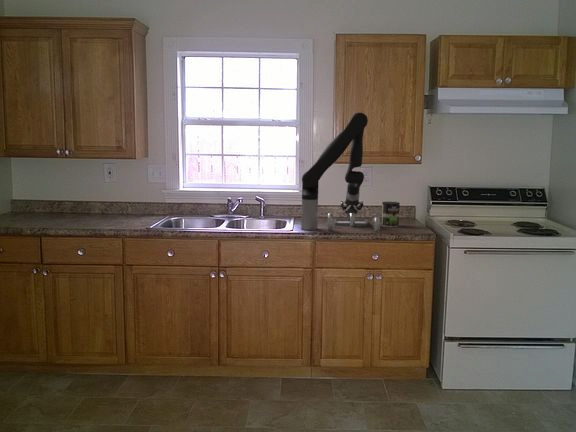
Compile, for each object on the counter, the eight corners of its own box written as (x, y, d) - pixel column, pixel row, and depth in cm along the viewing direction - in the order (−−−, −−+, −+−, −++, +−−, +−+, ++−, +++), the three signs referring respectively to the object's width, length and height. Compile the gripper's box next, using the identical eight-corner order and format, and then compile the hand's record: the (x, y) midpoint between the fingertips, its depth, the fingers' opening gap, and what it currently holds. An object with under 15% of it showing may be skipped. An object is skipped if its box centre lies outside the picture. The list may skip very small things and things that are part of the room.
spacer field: (327, 231, 308) (328, 217, 306) (327, 225, 325) (327, 212, 324) (379, 232, 306) (380, 217, 305) (376, 226, 324) (377, 213, 322)
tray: (335, 225, 327) (335, 222, 326) (334, 220, 344) (334, 218, 344) (368, 226, 325) (368, 223, 325) (366, 221, 343) (366, 219, 343)
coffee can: (401, 227, 324) (402, 203, 322) (385, 227, 322) (386, 203, 319) (394, 224, 334) (395, 201, 332) (378, 224, 331) (379, 201, 329)
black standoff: (347, 221, 332) (347, 205, 331) (346, 220, 337) (347, 204, 335) (355, 221, 332) (356, 205, 330) (354, 220, 337) (355, 204, 335)
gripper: (364, 190, 324) (362, 208, 338) (340, 190, 325) (339, 208, 338) (365, 200, 320) (363, 218, 333) (340, 200, 320) (339, 217, 334)
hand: (351, 212), depth 336 cm, fingers closed on black standoff, 5 cm apart
